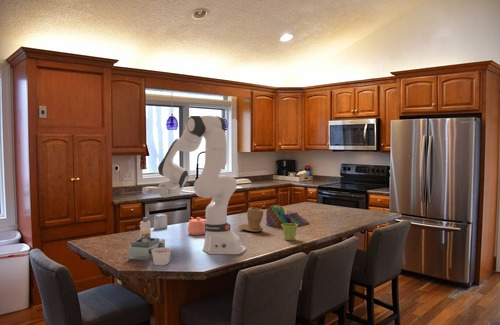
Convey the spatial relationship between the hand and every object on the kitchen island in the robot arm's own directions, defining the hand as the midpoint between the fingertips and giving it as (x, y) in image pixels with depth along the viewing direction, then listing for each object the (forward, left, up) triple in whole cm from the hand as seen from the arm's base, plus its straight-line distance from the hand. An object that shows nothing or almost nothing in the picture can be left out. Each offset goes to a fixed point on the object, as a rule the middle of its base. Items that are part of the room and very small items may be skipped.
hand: (154, 192), depth 213 cm
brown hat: (-41, -53, -30) cm, 73 cm away
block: (-60, -77, -30) cm, 103 cm away
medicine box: (+21, -48, -30) cm, 60 cm away
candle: (-17, +26, -30) cm, 43 cm away
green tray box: (-3, +14, -30) cm, 33 cm away
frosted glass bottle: (-3, +16, -24) cm, 29 cm away
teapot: (-10, -37, -30) cm, 49 cm away
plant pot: (-68, -34, -30) cm, 82 cm away
